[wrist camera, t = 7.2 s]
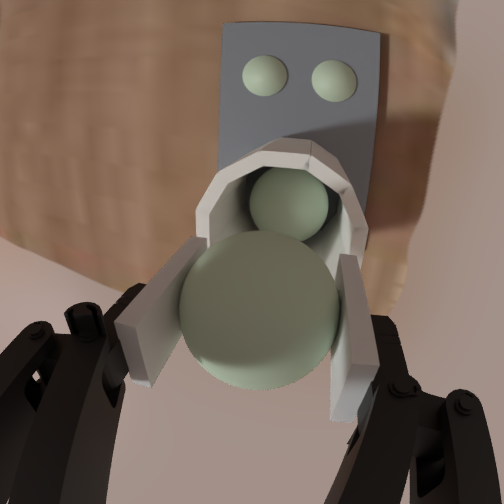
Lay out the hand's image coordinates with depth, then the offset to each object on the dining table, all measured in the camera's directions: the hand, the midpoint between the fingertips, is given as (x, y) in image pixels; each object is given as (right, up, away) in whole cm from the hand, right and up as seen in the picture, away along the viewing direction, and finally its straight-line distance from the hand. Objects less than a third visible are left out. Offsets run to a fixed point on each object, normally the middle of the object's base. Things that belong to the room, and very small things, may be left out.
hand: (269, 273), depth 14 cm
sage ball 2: (0, -1, -2) cm, 3 cm away
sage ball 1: (+2, +5, +9) cm, 11 cm away
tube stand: (+3, +11, +10) cm, 15 cm away
